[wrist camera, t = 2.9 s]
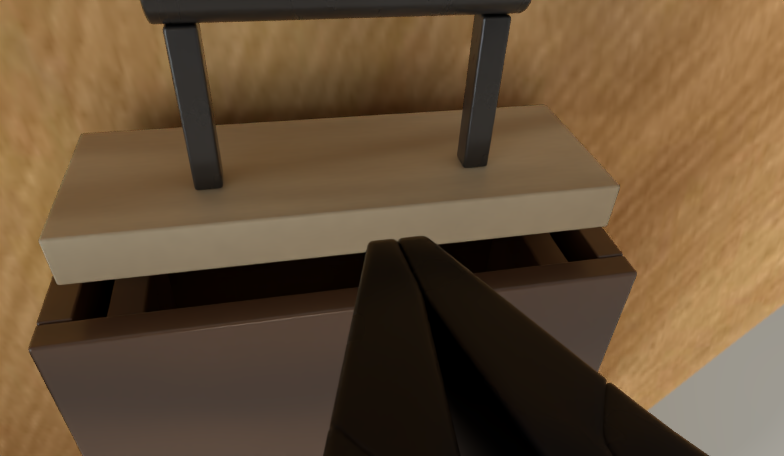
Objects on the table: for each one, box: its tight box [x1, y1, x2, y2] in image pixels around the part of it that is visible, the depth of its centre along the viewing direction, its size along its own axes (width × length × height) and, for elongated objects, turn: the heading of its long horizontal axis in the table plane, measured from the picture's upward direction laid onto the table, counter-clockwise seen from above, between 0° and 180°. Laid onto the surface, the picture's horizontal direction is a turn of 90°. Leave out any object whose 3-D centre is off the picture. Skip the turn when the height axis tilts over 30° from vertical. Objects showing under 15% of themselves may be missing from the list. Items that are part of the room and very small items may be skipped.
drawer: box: [39, 0, 620, 317], centre depth 17 cm, size 19×12×4 cm, turn 177°
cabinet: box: [28, 227, 637, 456], centre depth 20 cm, size 15×13×6 cm
